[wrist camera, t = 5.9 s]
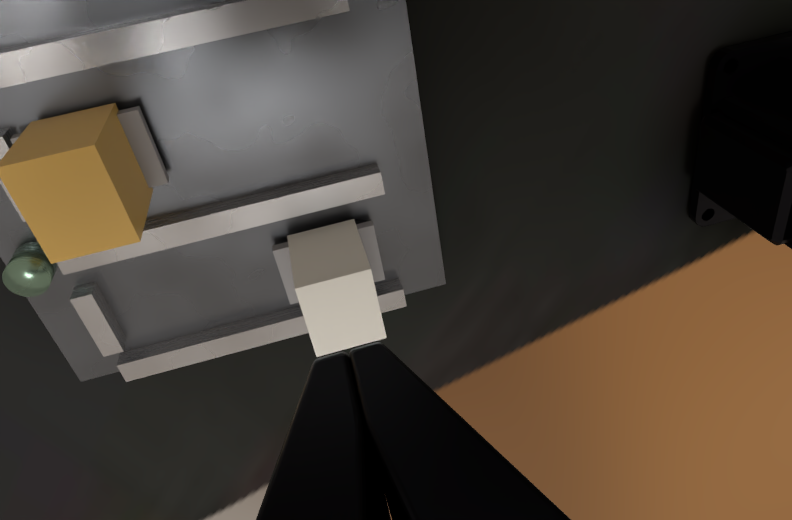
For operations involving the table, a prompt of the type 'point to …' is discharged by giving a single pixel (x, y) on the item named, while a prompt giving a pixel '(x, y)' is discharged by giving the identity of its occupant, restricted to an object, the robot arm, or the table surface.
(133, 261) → the panel
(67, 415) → the table surface
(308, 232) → the slider cream
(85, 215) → the slider amber
